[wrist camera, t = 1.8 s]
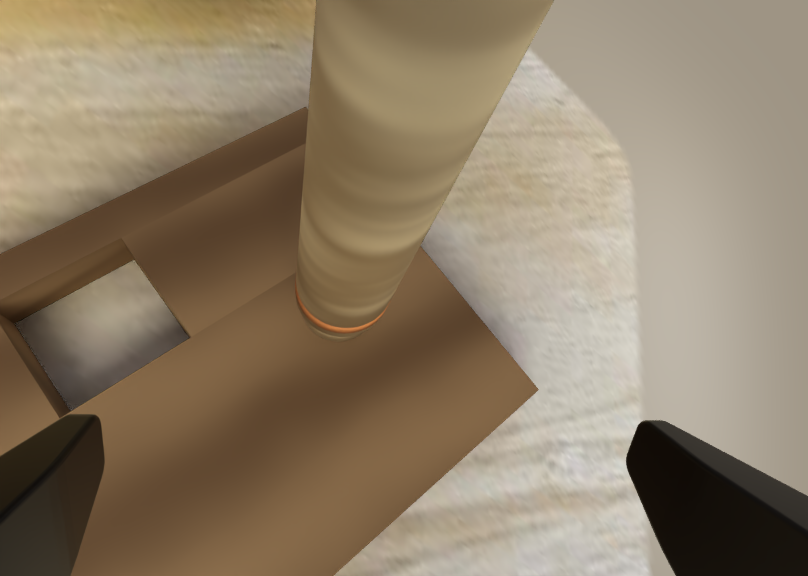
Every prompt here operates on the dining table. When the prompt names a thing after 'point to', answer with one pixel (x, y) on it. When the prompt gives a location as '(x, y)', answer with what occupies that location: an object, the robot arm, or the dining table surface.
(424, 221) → the ash peg
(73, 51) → the dining table surface
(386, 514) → the walnut board
